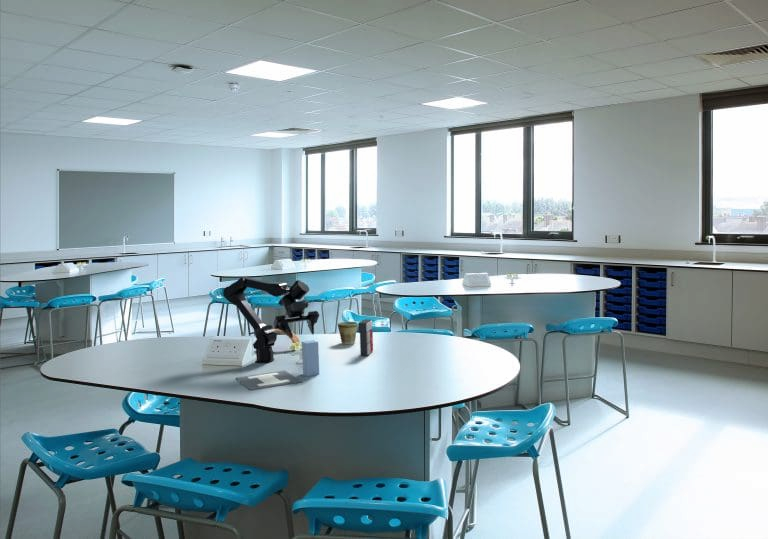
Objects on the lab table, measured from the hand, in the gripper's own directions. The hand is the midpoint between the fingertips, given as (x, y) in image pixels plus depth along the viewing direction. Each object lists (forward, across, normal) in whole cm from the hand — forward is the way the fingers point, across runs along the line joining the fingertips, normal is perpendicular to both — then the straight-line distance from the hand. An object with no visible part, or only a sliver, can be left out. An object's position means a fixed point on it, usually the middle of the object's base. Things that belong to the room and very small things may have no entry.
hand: (302, 335), depth 245 cm
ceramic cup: (-18, +39, +38) cm, 58 cm away
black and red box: (+2, +35, +19) cm, 40 cm away
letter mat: (+15, -18, +5) cm, 24 cm away
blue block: (+16, -1, +5) cm, 16 cm away
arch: (-23, +5, +42) cm, 49 cm away
